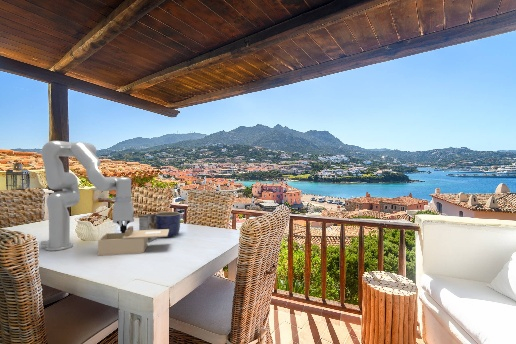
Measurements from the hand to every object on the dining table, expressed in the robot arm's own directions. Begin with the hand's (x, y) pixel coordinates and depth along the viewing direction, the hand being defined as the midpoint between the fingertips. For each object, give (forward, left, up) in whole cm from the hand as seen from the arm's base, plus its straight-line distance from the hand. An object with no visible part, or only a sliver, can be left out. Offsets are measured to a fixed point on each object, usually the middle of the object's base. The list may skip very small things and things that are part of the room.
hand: (123, 232), depth 152 cm
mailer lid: (+12, 0, -1) cm, 13 cm away
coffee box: (+10, +18, -10) cm, 23 cm away
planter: (+21, +28, -10) cm, 37 cm away
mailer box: (0, 0, -10) cm, 10 cm away
